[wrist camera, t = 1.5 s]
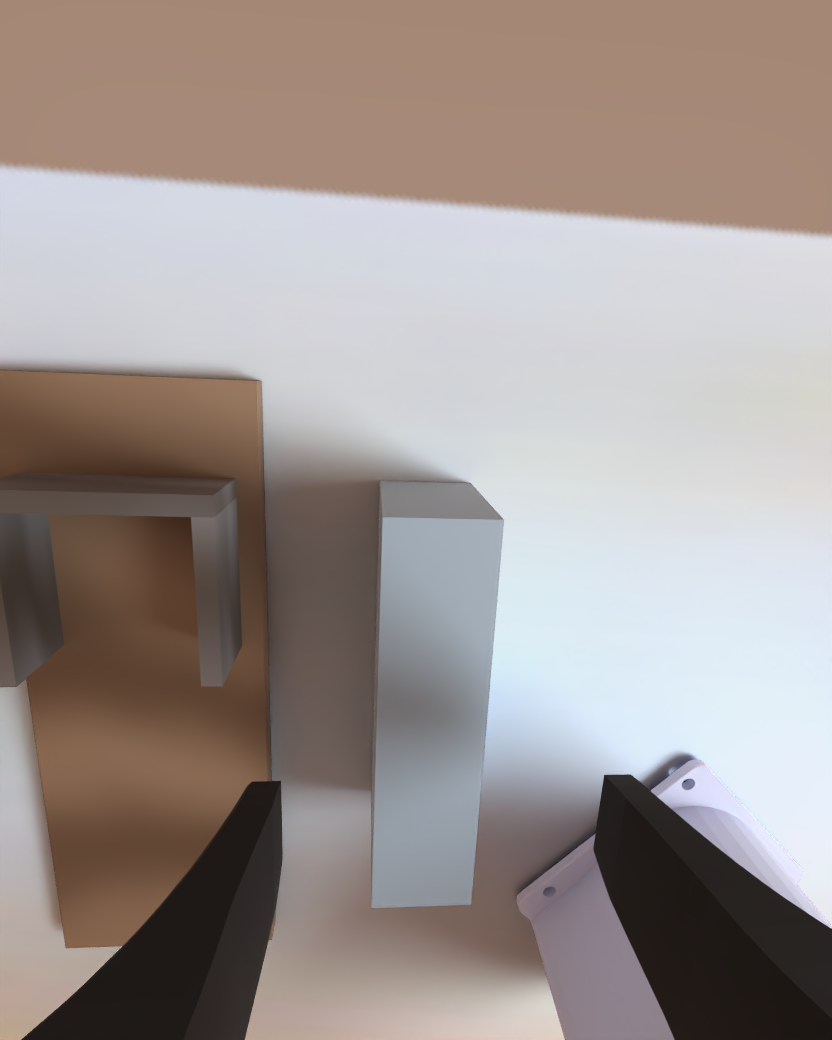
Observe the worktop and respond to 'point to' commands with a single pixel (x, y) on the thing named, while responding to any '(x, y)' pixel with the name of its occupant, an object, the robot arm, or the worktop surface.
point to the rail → (431, 688)
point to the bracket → (134, 623)
